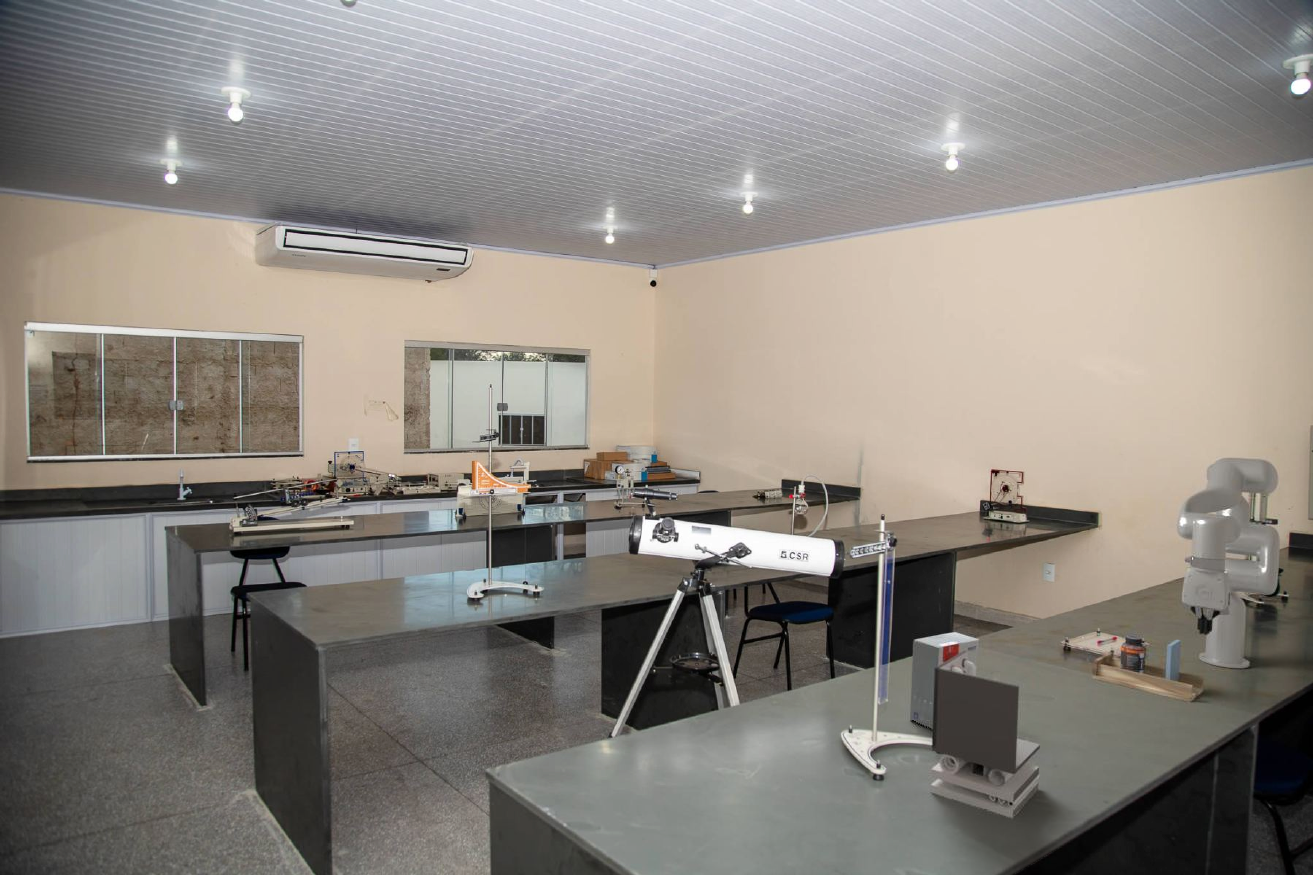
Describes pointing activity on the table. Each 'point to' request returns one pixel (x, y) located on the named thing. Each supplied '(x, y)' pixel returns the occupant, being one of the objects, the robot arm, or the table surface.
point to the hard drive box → (923, 668)
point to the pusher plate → (1173, 661)
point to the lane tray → (1147, 679)
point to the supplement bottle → (1133, 654)
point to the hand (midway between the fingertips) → (1204, 633)
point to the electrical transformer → (980, 740)
